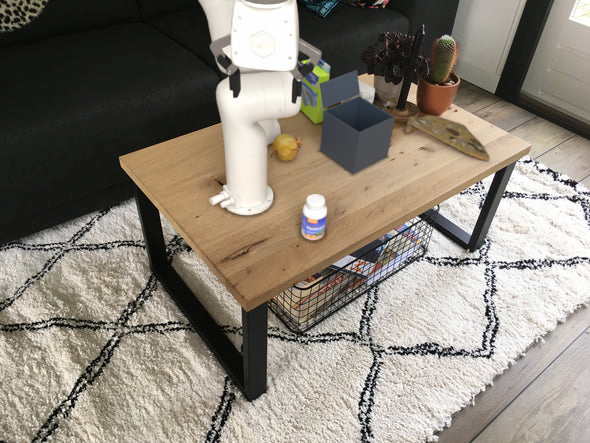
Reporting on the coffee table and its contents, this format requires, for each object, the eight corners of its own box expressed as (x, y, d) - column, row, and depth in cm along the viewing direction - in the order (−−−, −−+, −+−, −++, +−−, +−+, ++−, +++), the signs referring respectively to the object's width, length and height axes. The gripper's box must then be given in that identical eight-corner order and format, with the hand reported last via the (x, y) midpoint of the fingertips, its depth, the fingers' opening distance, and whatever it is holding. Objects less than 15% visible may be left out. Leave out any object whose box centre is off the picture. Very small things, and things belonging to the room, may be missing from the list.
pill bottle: (304, 242, 111) (307, 209, 105) (298, 226, 115) (300, 193, 109) (327, 238, 113) (331, 206, 106) (320, 222, 116) (324, 190, 110)
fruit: (278, 153, 126) (310, 140, 130) (264, 134, 129) (295, 123, 133) (274, 170, 132) (305, 158, 136) (261, 152, 134) (291, 140, 139)
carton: (353, 174, 130) (359, 133, 122) (320, 150, 137) (323, 110, 129) (387, 156, 137) (395, 116, 128) (353, 135, 144) (359, 96, 135)
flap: (320, 83, 125) (319, 83, 126) (324, 108, 128) (323, 108, 129) (357, 70, 132) (356, 70, 132) (360, 93, 135) (359, 93, 135)
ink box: (370, 124, 148) (376, 88, 140) (358, 129, 146) (363, 93, 138) (350, 112, 153) (354, 76, 145) (338, 117, 151) (342, 80, 142)
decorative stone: (401, 132, 145) (407, 117, 142) (423, 118, 155) (430, 104, 152) (478, 175, 136) (487, 159, 133) (497, 157, 146) (505, 142, 143)
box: (297, 108, 154) (300, 54, 142) (309, 105, 155) (312, 51, 143) (314, 125, 147) (319, 69, 135) (326, 121, 148) (332, 66, 137)
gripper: (199, -8, 69) (208, 103, 81) (324, 2, 68) (315, 113, 80) (211, -25, 74) (219, 81, 86) (328, -16, 73) (319, 90, 85)
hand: (265, 96), depth 83 cm, fingers open, 9 cm apart
